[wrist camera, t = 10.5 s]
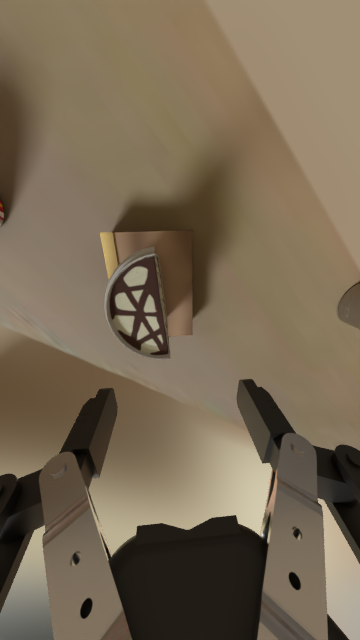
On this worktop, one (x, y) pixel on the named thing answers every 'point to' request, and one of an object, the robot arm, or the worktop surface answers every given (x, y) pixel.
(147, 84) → the worktop surface
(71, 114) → the worktop surface
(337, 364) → the worktop surface
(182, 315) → the dock
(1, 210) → the soda can
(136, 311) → the food container
